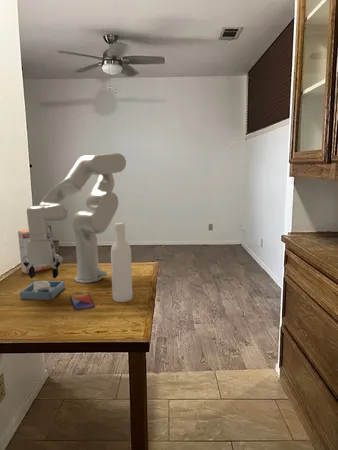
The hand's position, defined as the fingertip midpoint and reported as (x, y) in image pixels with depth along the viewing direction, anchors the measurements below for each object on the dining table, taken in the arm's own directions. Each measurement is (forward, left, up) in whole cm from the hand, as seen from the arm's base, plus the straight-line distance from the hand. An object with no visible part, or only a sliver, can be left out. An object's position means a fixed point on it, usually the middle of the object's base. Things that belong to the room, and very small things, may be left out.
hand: (44, 277), depth 146 cm
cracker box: (+17, -30, -7) cm, 36 cm away
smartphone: (-19, +9, -7) cm, 22 cm away
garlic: (0, +3, -5) cm, 6 cm away
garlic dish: (0, +1, -7) cm, 7 cm away
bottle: (-34, +5, -7) cm, 35 cm away
